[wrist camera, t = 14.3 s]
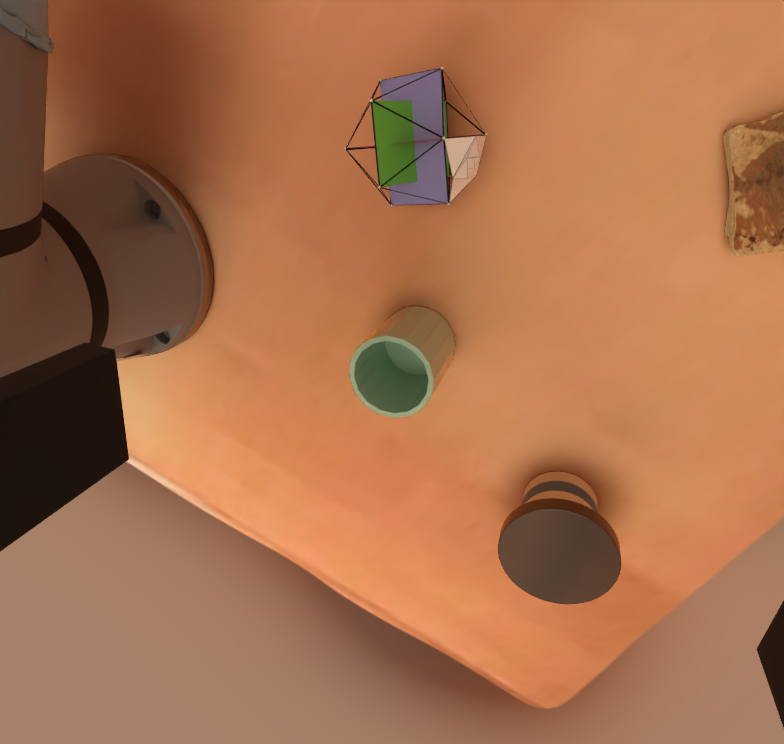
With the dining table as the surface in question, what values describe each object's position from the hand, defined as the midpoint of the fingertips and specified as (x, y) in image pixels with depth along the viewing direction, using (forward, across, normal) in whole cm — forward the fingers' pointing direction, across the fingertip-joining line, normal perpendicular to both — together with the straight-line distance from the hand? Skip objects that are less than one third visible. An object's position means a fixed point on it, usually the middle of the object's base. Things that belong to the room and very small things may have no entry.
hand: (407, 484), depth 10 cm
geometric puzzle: (+27, -7, +5) cm, 28 cm away
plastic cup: (+27, -6, -8) cm, 29 cm away
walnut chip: (+22, +6, -18) cm, 29 cm away
